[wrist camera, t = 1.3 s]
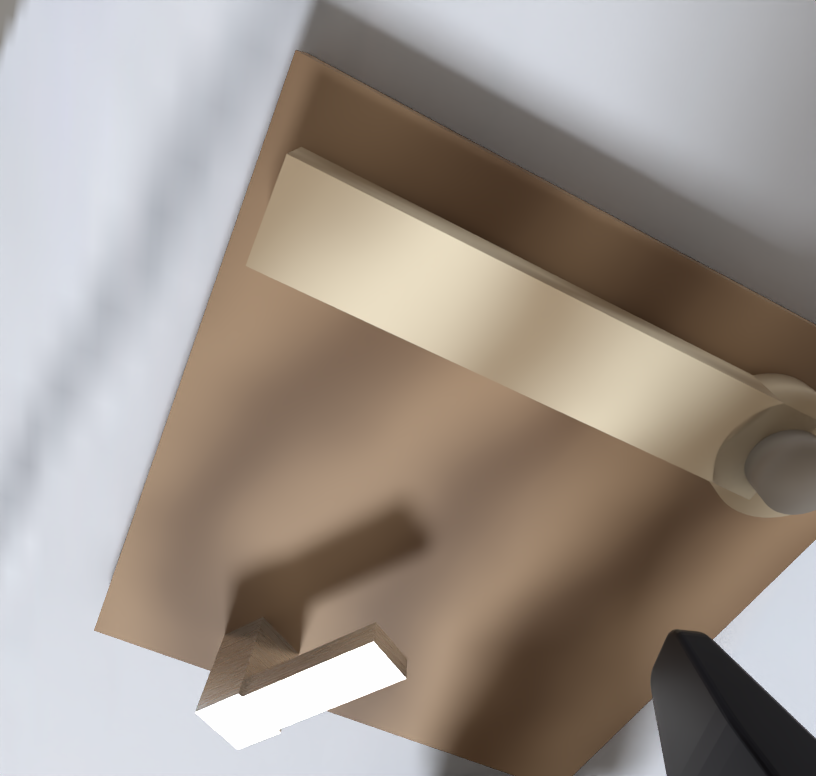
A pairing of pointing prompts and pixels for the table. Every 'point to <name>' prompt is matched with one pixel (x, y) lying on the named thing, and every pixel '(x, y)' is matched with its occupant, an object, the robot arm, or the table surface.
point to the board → (444, 469)
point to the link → (538, 335)
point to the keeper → (291, 679)
